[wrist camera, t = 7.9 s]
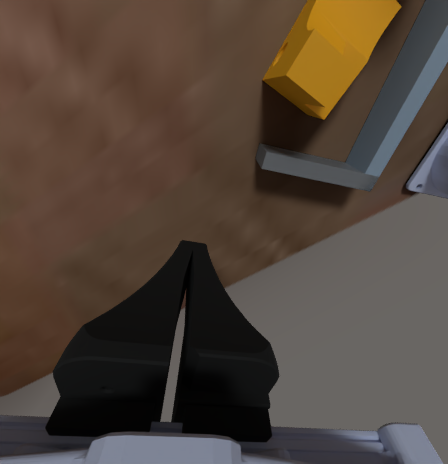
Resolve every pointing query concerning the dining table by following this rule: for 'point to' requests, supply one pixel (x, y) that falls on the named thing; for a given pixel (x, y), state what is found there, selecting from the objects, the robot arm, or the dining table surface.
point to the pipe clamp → (327, 51)
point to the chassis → (379, 110)
